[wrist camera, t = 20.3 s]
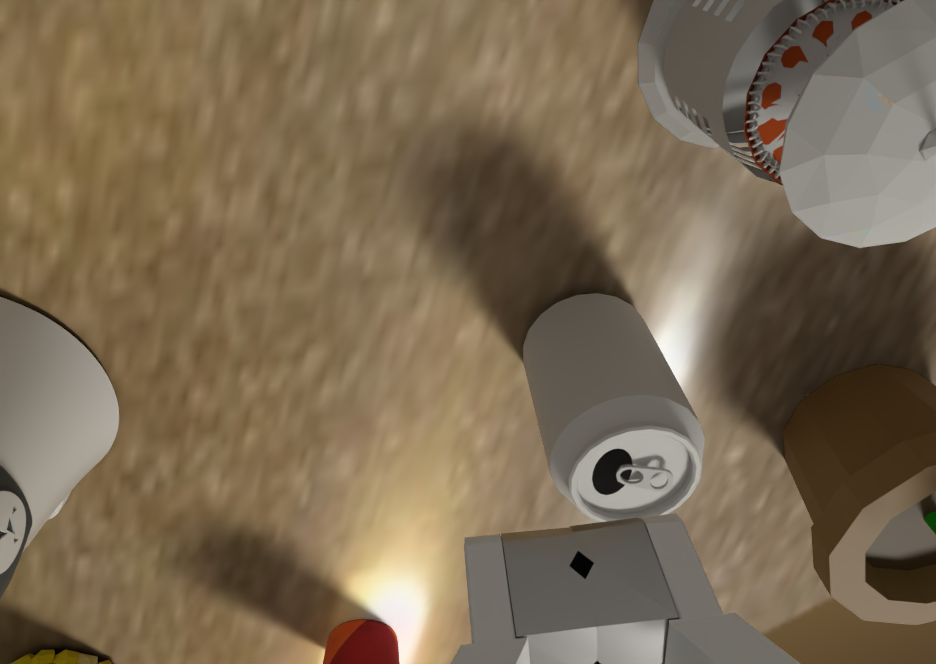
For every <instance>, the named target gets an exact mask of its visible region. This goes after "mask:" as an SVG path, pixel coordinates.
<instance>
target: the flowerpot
mask: <svg viewBox="0 0 936 664" xmlns="http://www.w3.org/2000/svg"><path fill="white" fill-rule="evenodd" d="M783 443H784V455H785V461H786V463H787V465H788V467H789V470H790V472H791V474H792V476H793V479H794V481H795V483H796V485H797V488H798V490H799V492H800V494H801V496H802V499H803V501H804V503H805V505H806V508H807V510H808V512H809V514H810V517H811V519H812V521H813V523H814V524H813V526H812V527H811V531H812V547H813V564H814V569H815V570H816V572H817V574H818V575H819V577H820V579H821V580H822V582H823V584H824V585H825V587H826V589H827V591H828V592H829V594H830V596H831V597H833V598H834V599H835V600H837V601H838V602H839V603H841V604H842V605H843V606H845V607H846V608H847V609H849V610H850V611H851V612H853V613H854V614H856V615H857V616H858V617H859V618H861V619H862V620H865V621H876V622H888V623H899V624H911V625H918V624H922V623H927V622H931V621H935V620H936V386H935V385H934V384H932V383H931V382H929V381H928V380H927V379H925V378H924V377H922V376H921V375H919V374H918V373H917V372H915V371H914V370H910V369H904V368H898V367H892V366H885V365H879V364H876V365H872V366H869V367H865V368H862V369H858V370H854V371H851V372H847V373H844V374H840V375H837V376H834V377H833V378H832V379H830V380H829V381H828V382H826V383H825V384H823V385H822V386H821V387H819V388H818V389H817V390H815V391H814V392H812V393H811V394H810V395H808V396H807V397H805V398H804V399H803V400H801V401H800V403H799V405H798V406H797V408H796V410H795V411H794V413H793V415H792V417H791V418H790V420H789V422H788V423H787V425H786V427H785V428H784V430H783Z"/></svg>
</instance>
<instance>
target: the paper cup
mask: <svg viewBox="0 0 936 664" xmlns="http://www.w3.org/2000/svg"><path fill="white" fill-rule="evenodd" d="M323 664H399V652H398V641H397V636H396V634H395V632H394V631H393V629H391V628H390V627H389V626H388V625H386V624H384V623H381V622H378V621H374V620H366V619H361V620H353V621H348V622H345V623H343V624H341V625H339V626H337V627H336V628H335V629H334V630H333V631H332V632H331V633H330V635H329V638H328V641H327V646H326V650H325V656H324V661H323Z"/></svg>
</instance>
